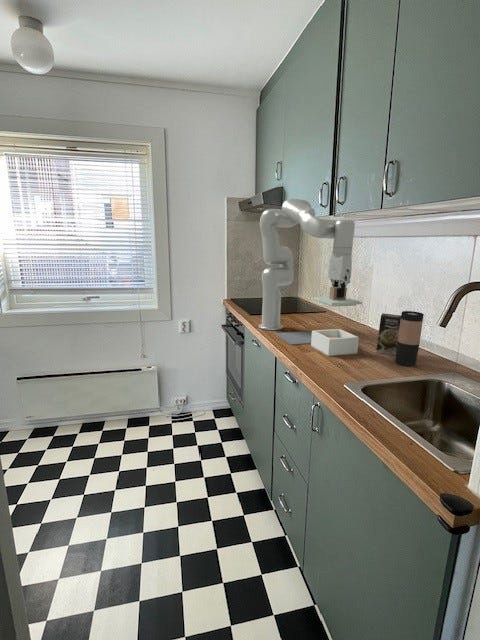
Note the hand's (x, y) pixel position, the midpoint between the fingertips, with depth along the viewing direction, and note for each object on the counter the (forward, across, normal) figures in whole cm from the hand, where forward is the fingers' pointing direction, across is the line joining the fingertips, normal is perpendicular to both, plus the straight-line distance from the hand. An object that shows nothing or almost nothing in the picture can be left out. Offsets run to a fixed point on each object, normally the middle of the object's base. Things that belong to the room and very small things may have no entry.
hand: (337, 296), depth 143 cm
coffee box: (+23, +10, +21) cm, 33 cm away
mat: (+23, -18, -6) cm, 30 cm away
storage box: (+23, +1, 0) cm, 23 cm away
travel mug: (+23, +23, +18) cm, 37 cm away
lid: (+2, 0, 0) cm, 2 cm away
